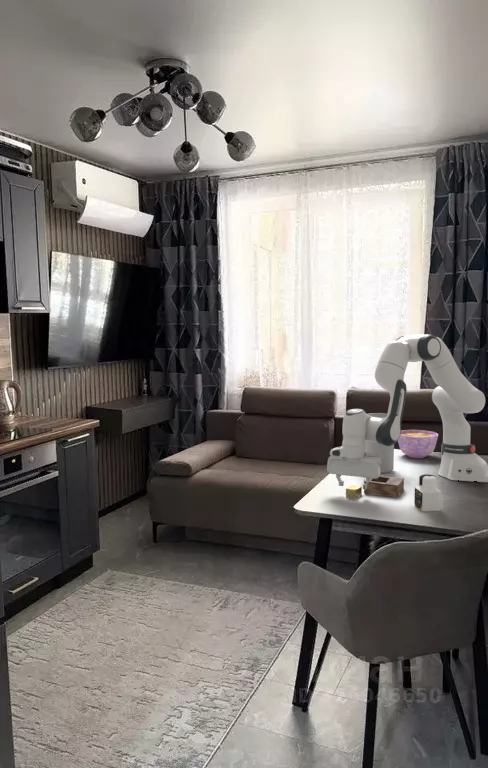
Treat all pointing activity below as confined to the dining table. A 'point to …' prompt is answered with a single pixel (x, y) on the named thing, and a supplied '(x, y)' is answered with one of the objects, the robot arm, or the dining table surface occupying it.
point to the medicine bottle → (427, 494)
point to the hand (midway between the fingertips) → (353, 487)
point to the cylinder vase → (382, 450)
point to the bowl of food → (417, 443)
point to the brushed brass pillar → (353, 491)
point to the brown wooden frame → (385, 486)
